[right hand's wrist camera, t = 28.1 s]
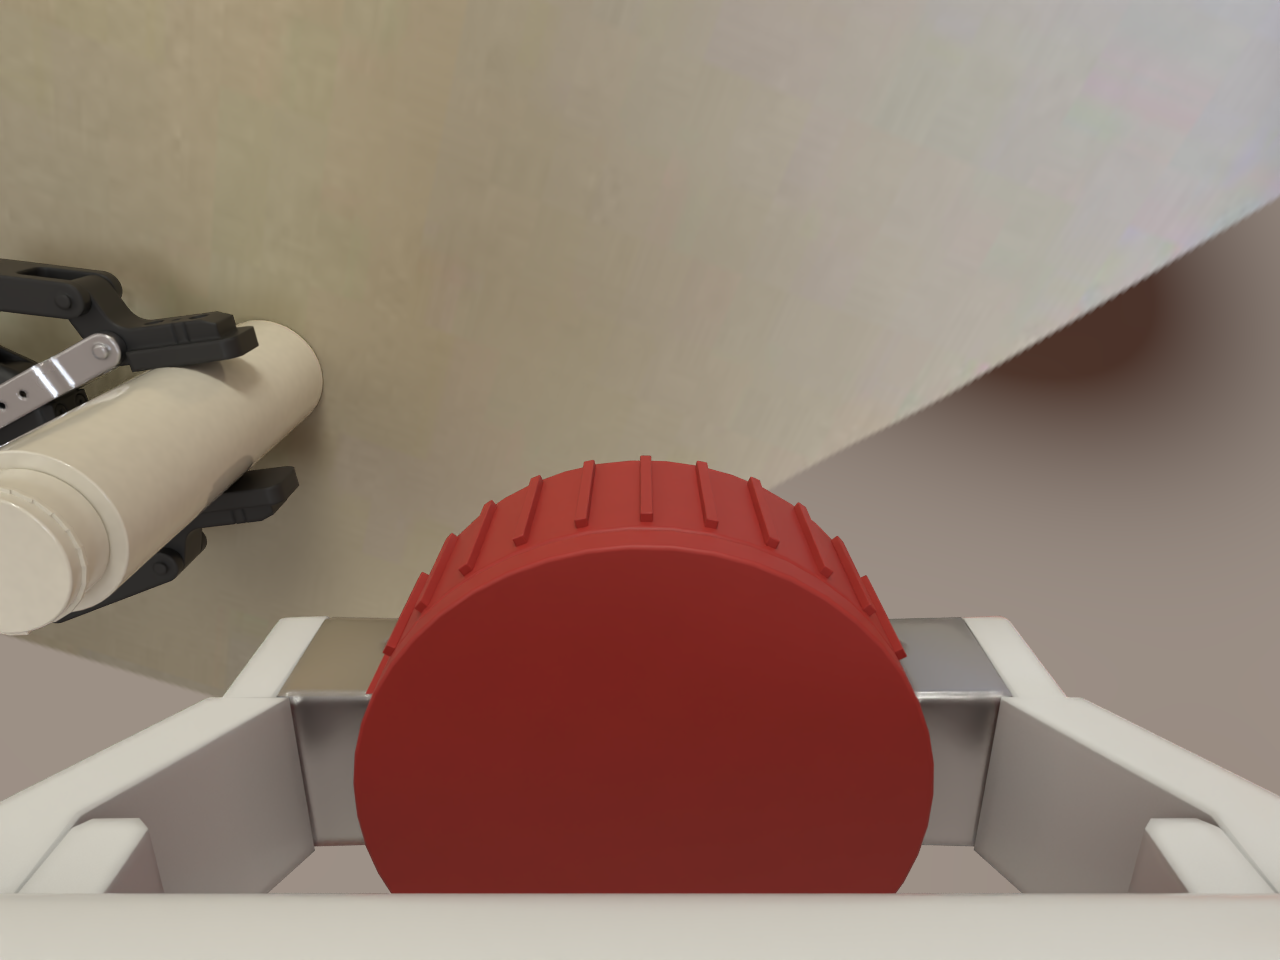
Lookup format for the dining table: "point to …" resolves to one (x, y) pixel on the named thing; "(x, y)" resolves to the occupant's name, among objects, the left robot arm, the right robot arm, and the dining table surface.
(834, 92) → the dining table surface
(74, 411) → the white bottle
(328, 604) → the dining table surface
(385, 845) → the lid
